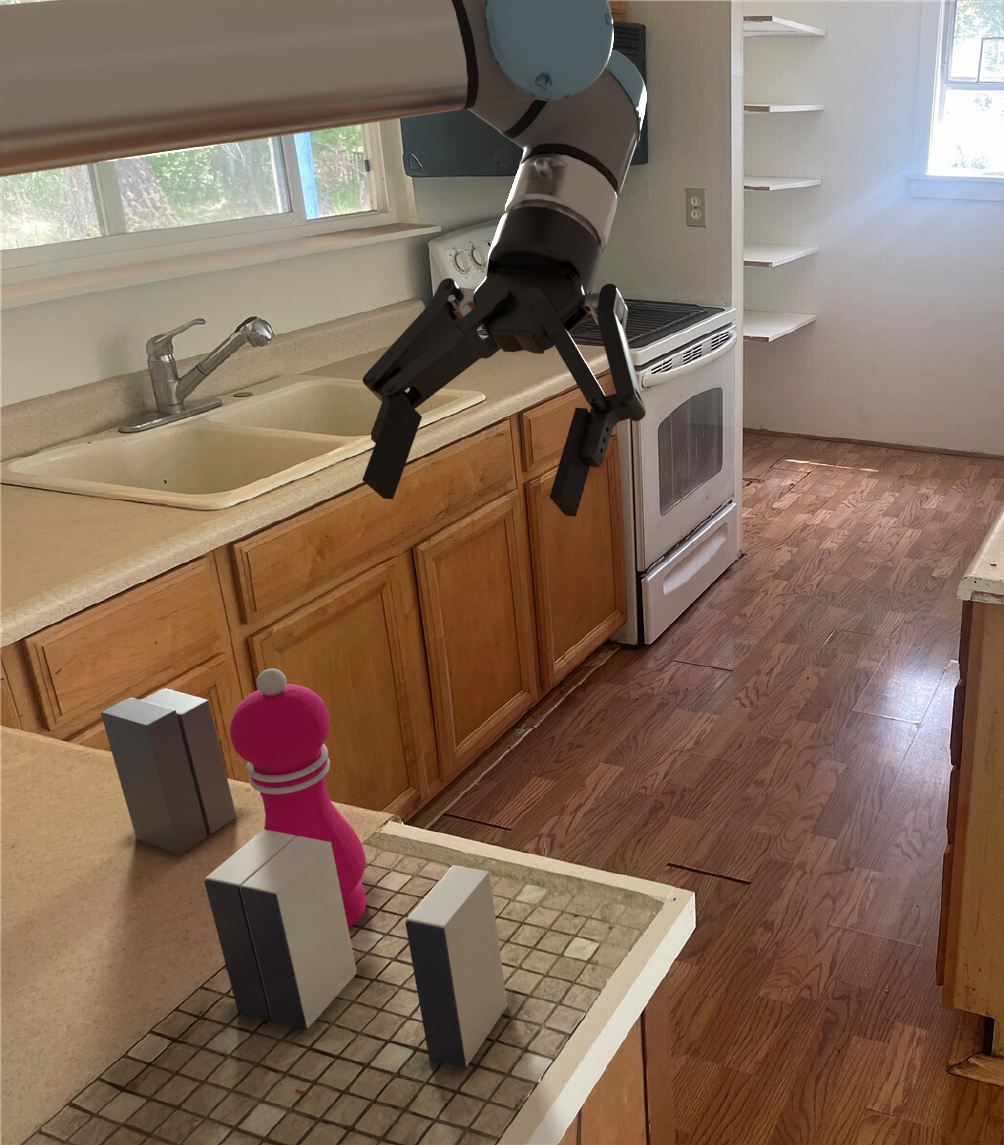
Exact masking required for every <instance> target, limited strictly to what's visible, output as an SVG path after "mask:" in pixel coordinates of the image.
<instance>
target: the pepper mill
mask: <svg viewBox="0 0 1004 1145" xmlns="http://www.w3.org/2000/svg"><path fill="white" fill-rule="evenodd" d="M287 681H288V680H287V676H286V675H285V673H283V671H281V670H280V669H277V668H267V669H265V670H262V671H261V672H260V674H258V676H257V678H256V687H257V690H255V691H253V692H251V693H250V694H249V695H247V696H246V697H245V698H243V699H242V700H241V701H240V703H239V704H238V705H237V706H236V708H235V710H234V712H233V714H232V716H231V720H230V724H229V734H230V740H231V744H232V746H233V749H234V750H235V752H236V753H237V755H239V756H240V757H241V758H242V759H243V761H246V762H247V763H246V771H247V774H248V775H249V778H248V782H249V785H250V786H251V788H253V789H254V790H255V791H257V792H259V794H260V797H261V799H262V801H263V807H264V814H265V815H264V816H265V817H264V827H263V829H264V830H269V831H274V832H280V833H285V834H290V835H295V836H296V837H297V836H301V837H306V838H311V839H317V840H322V841H327V842H331V845H332V850H333V855H334V860H335V865H336V870H337V875H338V880H339V885H340V890H341V895H342V900H343V905H344V910H345V915H346V920H347V925H348V929H350V928H351V927H352V926H354V924H356V923H357V922H358V921H359V920H360V919H361V918H362V915H363V914H364V913H365V910H366V907H367V899H366V893H365V888H364V885H363V882H362V881H361V880H362V878H363V875H364V873H365V870H366V864H367V863H366V859H367V858H366V854H365V851H364V848H363V844H362V842H361V840H360V838H359V836H358V834H357V833H356V831H355V829H354V828H353V827H352V825H351V824H350V823H349V822H348V821H347V819H346V818H344V816H343V815H342V814H341V813H340V812H339V810H338V809H337V807H336V806H335V805H334V804H333V802H332V800H331V798H330V796H329V793H328V789H327V786H326V775H327V774H328V772H329V770H330V768H331V761H330V758H329V756H328V755H329V751H328V750H329V749H328V747H327V746H326V744H325V742H326V740H327V739H328V736H329V733H330V728H331V719H330V718H331V717H330V713H329V710H328V708H327V706H326V704H325V702H324V700H323V699H322V698H321V697H320V696H319V694H317V693H316V692H315V691H313V690H312V689H310V688H308V687H306V686H302V685H299V684H294V683H287Z"/></svg>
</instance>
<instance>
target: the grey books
mask: <svg viewBox="0 0 1004 1145" xmlns="http://www.w3.org/2000/svg"><path fill="white" fill-rule="evenodd" d="M100 715H101V719H102V724H103V727H104V730H105V733H106V737H107V740H108V744H109V747H110V751H111V754H112V758H113V762H114V765H115V769H116V773H117V776H118V779H119V784H120V786H121V790H122V793H123V798H124V801H125V803H126V807H127V808H126V809H127V812H128V815H129V817H130V822H131V825H132V828H133V833H134V836H135V839H136V840H139V841H141V842H144V843H147V844H149V845H152V846H155V847H158V848H161V849H163V850H167V851H169V852H171V853H174V854H178V855H182V854H183V853H185V852H187V851H188V850H190V849H192V848H193V847H194V846H196V845H197V844H199V843H200V842H202V841H203V840H205V839H206V838H208V834H209V835H212V834H214V833H216V832H217V831H219V830H220V829H221V828H223V827H224V826H226V825H228V824H229V823H230V822H232V821H233V820H235V819H236V818H237V812H236V809H235V805H234V800H233V796H232V792H231V787H230V783H229V779H228V775H227V771H226V766H225V763H224V758H223V754H222V750H221V745H220V741H219V738H218V734H217V729H216V724H215V721H214V716H213V712H212V708H211V703H210V700H209V699H206V698H203V697H199V696H195V695H191V694H187V693H184V692H180V691H176V690H173V689H169V688H166V687H163V688H161V689H159V690H157V691H156V692H153V693H151V694H149V695H147V696H146V697H143V698H142V699H139V698H134V697H128V698H126V699H124V700H121V701H120V702H118V703H116V704H114V705H112V706H110V707H107V708H106V709H103V710H102V711H100Z"/></svg>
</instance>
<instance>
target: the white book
mask: <svg viewBox="0 0 1004 1145" xmlns="http://www.w3.org/2000/svg"><path fill="white" fill-rule="evenodd" d="M491 881H492V880H491V873H490V871H487V870H482V869H476V868H471V867H466V866H461V865H456V864H453V865H452V866H451V867H449V869H448V870H447V871H446V873H445V874H444V875H443V876H442V877H441V878H440V879H439V881H438V882H437V883H436V884H435V885H434V886H433V887H432V889H431V890H430V891H429V892H428V893H427V894H426V895H425V897H424V898H423V899H422V900H421V902H420V903H418V905H417V906H416V907H415V908H414V909H413V911H412V912H411V913H410V914H409V915H408V916H407V918H406V921H405V922H404V923H405V929H406V934H407V941H408V946H409V951H410V952H409V953H410V958H411V963H412V970H413V974H414V981H415V986H416V991H417V997H418V1002H419V1003H418V1004H419V1008H420V1016H421V1020H422V1021H421V1022H422V1026H423V1032H424V1039H425V1043H426V1049H427V1055H428V1060H429V1061H433V1062H437V1063H440V1064H444V1065H449V1066H452V1067H456V1068H461V1069H466V1067H468V1066H469V1064H470V1063H471V1062H472V1060H473V1058H474V1057H475V1055H476V1054H477V1052H478V1051H479V1049H480V1048H481V1046H482V1045H483V1043H484V1042H485V1040H486V1039H487V1037H488V1036H489V1035H490V1033H491V1031H492V1030H493V1029H494V1027H495V1025H496V1024H497V1022H498V1021H499V1019H501V1016H502V1015H503V1014H504V1012H505V1010H506V1009H507V1007H508V1000H507V992H506V985H505V984H506V983H505V979H504V971H503V969H504V968H503V962H502V954H501V948H500V941H499V933H498V925H497V918H496V909H495V904H494V903H495V902H494V895H493V888H492V882H491Z"/></svg>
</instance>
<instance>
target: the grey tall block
mask: <svg viewBox="0 0 1004 1145" xmlns="http://www.w3.org/2000/svg"><path fill="white" fill-rule="evenodd" d="M203 883H204V887H205V891H206V894H207V899H208V903H209V907H210V909H211V914H212V918H213V922H214V925H215V929H216V933H217V937H218V940H219V945H220V949H221V952H222V956H223V960H224V964H225V967H226V972H227V976H228V980H229V983H230V988H231V991H232V995H233V999H234V1003H235V1006H236V1010H237V1014H238V1015H242V1016H244V1017H245V1016H246V1017H249V1018H253V1019H257V1020H262V1021H265V1022H269V1023H271V1022H272V1023H274V1024H278V1025H282V1026H284V1027H285V1026H286V1027H289V1028H293V1029H296V1030H297V1029H298V1030H301V1031H307V1030H308V1029H309V1028H310V1027H311V1026H312V1025H313V1024H314V1022H315V1021H316V1020H317V1019H318V1018H319V1017H320V1016H321V1014H323V1012H324V1011H325V1010H326V1009H327V1008H328V1007H329V1005H330V1004H331V1003H332V1002H333V1001H334V1000H335V999H336V998H337V996H338V995H339V994H340V993H341V991H343V990H344V988H345V987H346V986H347V984H349V982H350V981H351V980H353V978H354V977H355V976H356V974H358V971H357V966H356V961H355V956H354V950H353V945H352V942H351V936H350V930H349V928H348V925H347V920H346V915H345V910H344V905H343V900H342V895H341V890H340V885H339V880H338V875H337V870H336V865H335V860H334V855H333V850H332V845H331V842H327V841H322V840H317V839H311V838H306V837H301V836H297V837H296V836H295V835H290V834H285V833H280V832H274V831H269V830H264V828H263V829H261V830H260V831H259V832H257V834H255V835H254V836H253V837H252V838H250V840H248V841H247V842H246V843H245V844H243V845H242V846H241V847H240V848H238V849H237V851H235V852H234V853H233V854H232V855H230V856H229V857H228V858H227V859H226V860H224V861H223V862H222V863H221V864H220V865H219V866H217V867H216V868H215V869H214V870H212V872H210V873H209V874H207V876H206V877H205V879H204V880H203Z"/></svg>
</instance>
